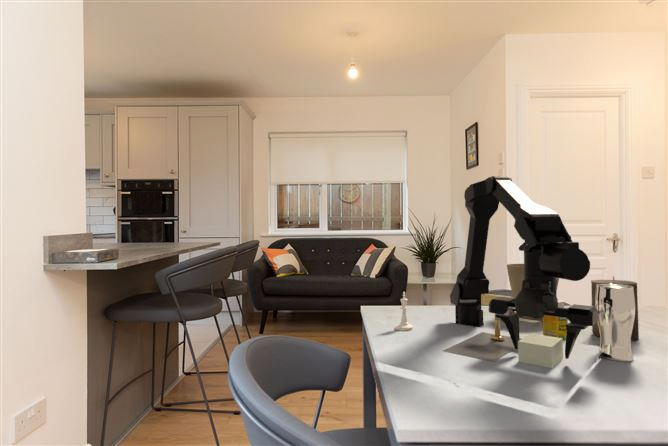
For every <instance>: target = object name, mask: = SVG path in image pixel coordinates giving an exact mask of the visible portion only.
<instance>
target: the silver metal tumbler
mask: <svg viewBox="0 0 668 446" xmlns="http://www.w3.org/2000/svg"><path fill="white" fill-rule="evenodd" d="M633 288H634V287H633V286H628V285H620V284H597V285H596V294H595V308H596V309H597V310H598V326H599V331H600V337H599V338H600V342H599V348H598V351H600V352H601V353H600V354H599V356H598V357H600V358H602V359H605V360H608V361H614V362H622V363H623V362H626V363H627V362H631V361H634V353H633V350H632V343H631V342H632V341H631V334H632V329H633V324H634V318H635V298H634V289H633Z"/></svg>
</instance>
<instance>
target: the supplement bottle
mask: <svg viewBox="0 0 668 446" xmlns="http://www.w3.org/2000/svg"><path fill="white" fill-rule="evenodd" d="M557 300H558V307H562V308H565V301H564V300H561V299H557ZM568 321H569V320H568V319H567V318H564V317H556V316H548V315H544V317H543V320H542V335H544V336H551V337H557V338H563V342H566V334H567V330H566V325H567V324H568V323H569V322H568Z"/></svg>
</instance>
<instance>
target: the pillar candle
mask: <svg viewBox="0 0 668 446" xmlns="http://www.w3.org/2000/svg"><path fill="white" fill-rule="evenodd" d="M590 281H591V282H590V283H591V284H590V285H591V306H594V307H595V294H596V285H597V284H620V285H628V286H633V287H634V288H633V289H634V298H635V318H634V324H633V329H632V334H631V342H632V341H633V342H635V341H637V340H639V338H640V336H639V335H640V332H639V305H638V304H639V303H638V298H639V297H638V283H637V282H636V281H630V280H621V279H615V276H612V279H593V280H590ZM591 327H592V329H591V330H592V332H591V333H592V335H594V336H596V337H598V338H600V331H599V326H598V322H597V323H595V324H594V325H593V326H591Z"/></svg>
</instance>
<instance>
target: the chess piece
mask: <svg viewBox="0 0 668 446" xmlns="http://www.w3.org/2000/svg"><path fill="white" fill-rule="evenodd" d="M408 301H409V299H408V298H406V292H405V291H403V292H402V298H400V303H401V306H400V310H401V311H402V312H401V319H400V320H401V321H400V322H399V323H398V324H396V325H395V328H394V329H395V330H397V331H402V332H409V331H413V330H414V326H413V325H412V324H410V323H409V322H408V319H407V317H408V316H407V310H409V308H408V307H407V304H408Z"/></svg>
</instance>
